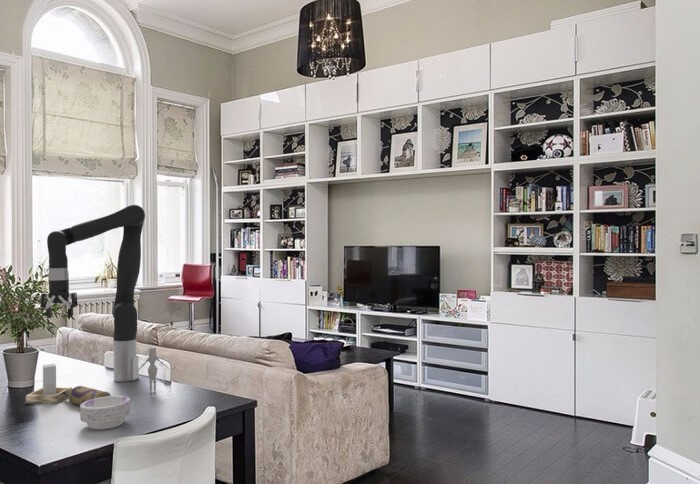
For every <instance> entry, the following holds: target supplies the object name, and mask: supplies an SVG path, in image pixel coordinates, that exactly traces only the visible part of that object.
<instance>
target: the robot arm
mask: <svg viewBox="0 0 700 484" xmlns="http://www.w3.org/2000/svg"><path fill="white" fill-rule="evenodd" d="M145 218H146V214H145V210H144V208H143V207H142V206H140V205H137V204H128V205H127V206H126V207H123V208H122V209H119V210H118V211H116V212H112V213H111V214H107V215H105V216H102V217H101V216H100V217H98V218H95V219H91V220H90V219H89V220H87V221H83V222H81V223H80V222H79V223H78V224H75V225H72V226H71V227H68V228H64V229H61V230H54V231H51V232H50V233H49V234H48V235H47V237H46V238H47V239H46V245H47V253H48V277H47V279H48V293H47V292H42V293H41V295H40V299H41V300H40V307H41V308H42V309H45V315H46V317H47V319H51V318H53V313H52V312H53V311H52V310H53V309H52V307H53V306H54V305H55V304H63V305H64V306H66V308H67V318H68V319H71V318H72V317H73V316H74V308H76V307H78V305H79V303H78V294H77V292H76V291H75V292H70V282H69V281H70V279H69V278H70V277H69V265H68V264H69V263H68V255H67V246H69V245H72V244H74V243H77V242H81V241H85V240H89V239H90V238H94V237H96V236H99V235H102V234H104V233H107V232H109V231H111V230H115V229H118V228H123V230H122V231H123V235H122V240H121V243H120V246H119V251H118V252H119V253H118V256H117V267H116V293H115V297H114V302H113V307H112V317H113V329H114V330H113V334H112V335H113V336H112V337H113V339H112V340H113V341H112V342H113V381H114V382H121V383H123V382H133V381H134V382H135V380H137V379H138V378H139V376H140V375H139V371H140V369H139V368H140V367H139V356H138V354H137V333H138V310H137V308H136V307H135V305H134V304H135V289H136V286H137V282H138V278H139V275H140V270H141V260H142V243H141V242H142V241H141V239H142V232H143V227H144V223H145ZM48 298H49V301H48ZM69 298H70V299H71V300H70V299H69ZM138 369H139V371H138ZM137 371H138V372H137Z"/></svg>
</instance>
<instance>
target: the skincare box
mask: <svg viewBox="0 0 700 484" xmlns="http://www.w3.org/2000/svg"><path fill="white" fill-rule="evenodd" d="M42 387H43V395H56V387H57V366H56V364H55V363H49V364H43V365H42Z"/></svg>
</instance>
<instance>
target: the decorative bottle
mask: <svg viewBox="0 0 700 484" xmlns="http://www.w3.org/2000/svg"><path fill="white" fill-rule="evenodd" d="M63 393H64V394H65V396H67V399H68V402H69V403H71V404H73V405H76V406H79V407H80V405H81V404H82V403H83V402H85V401H88V400H91V399H95V398H100V397H106V396H112V395H111V394H110V393H109V392H108V391H104V390H101V389H100V390H99V389H95V388H92V387H87V386H83V385H77V386H75V387H72V389H66V390H65V391H64V392H63Z"/></svg>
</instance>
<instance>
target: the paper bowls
mask: <svg viewBox="0 0 700 484" xmlns="http://www.w3.org/2000/svg"><path fill="white" fill-rule="evenodd" d="M79 408H80V409H79V416H80V417H79V418H80V421H81V422H82V423H86V424H87V426H88V428H89V429H91V430H95V431H96V430H99V431H100V430H109V429H114V428H117V427H119V426H121V425H123V423H124V421H125V419H126V418H127V417H128V416H130V415H131V398H130V397H129V396H124V395H111V396H106V397H100V398H95V399H91V400H88V401H85V402H83V403H82V404H81V405H80V406H79Z"/></svg>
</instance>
